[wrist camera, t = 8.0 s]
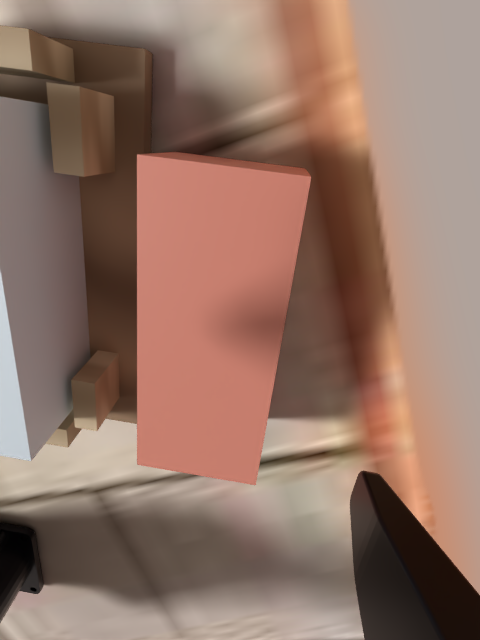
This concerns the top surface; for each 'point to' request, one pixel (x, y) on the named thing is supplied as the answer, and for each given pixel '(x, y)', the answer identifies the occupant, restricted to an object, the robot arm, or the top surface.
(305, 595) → the top surface
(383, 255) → the top surface
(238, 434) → the salmon pink slab
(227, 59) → the top surface
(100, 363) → the jig
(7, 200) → the pale blue slab
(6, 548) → the robot arm
